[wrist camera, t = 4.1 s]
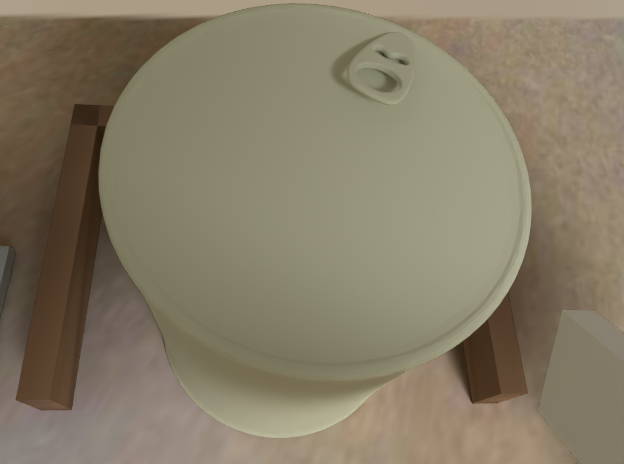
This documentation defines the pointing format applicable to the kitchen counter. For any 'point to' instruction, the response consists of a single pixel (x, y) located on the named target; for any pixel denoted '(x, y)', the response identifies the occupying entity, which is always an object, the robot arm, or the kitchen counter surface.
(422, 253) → the can
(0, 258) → the slate tile
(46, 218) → the kitchen counter surface
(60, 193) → the walnut stall
